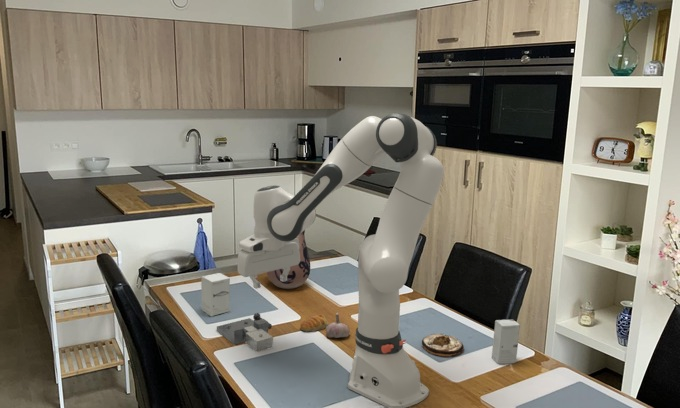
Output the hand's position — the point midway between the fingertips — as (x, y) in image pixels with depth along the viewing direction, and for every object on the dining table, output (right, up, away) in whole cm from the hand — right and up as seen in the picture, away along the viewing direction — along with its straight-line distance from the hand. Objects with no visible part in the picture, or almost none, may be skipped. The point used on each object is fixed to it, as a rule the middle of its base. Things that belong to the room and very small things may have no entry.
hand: (270, 284), depth 165 cm
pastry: (+13, -17, +17) cm, 27 cm away
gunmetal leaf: (-11, -17, +11) cm, 23 cm away
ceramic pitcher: (-2, -9, +55) cm, 56 cm away
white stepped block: (-5, -19, +4) cm, 20 cm away
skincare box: (+70, -23, -1) cm, 73 cm away
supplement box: (-23, -14, +27) cm, 38 cm away
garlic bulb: (+20, -19, +11) cm, 29 cm away
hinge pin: (-5, -16, +18) cm, 24 cm away
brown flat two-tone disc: (+53, -21, +5) cm, 57 cm away
